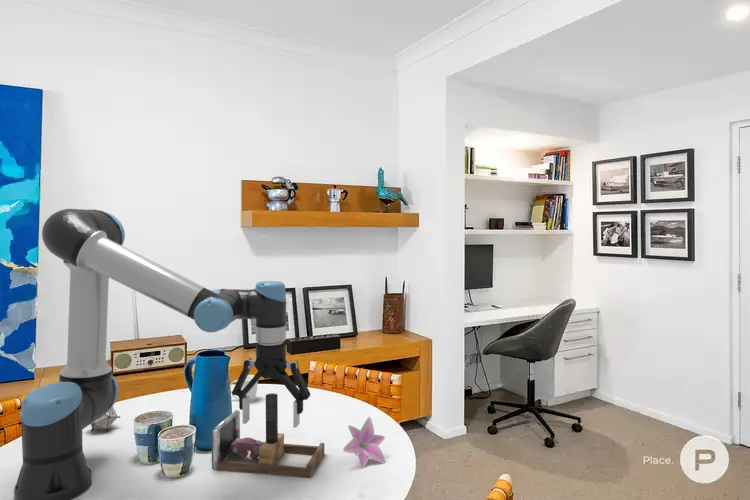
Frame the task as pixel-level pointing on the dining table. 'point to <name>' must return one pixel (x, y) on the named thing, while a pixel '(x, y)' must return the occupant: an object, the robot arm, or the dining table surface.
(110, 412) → the game die
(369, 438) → the lily
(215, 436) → the grey tablet
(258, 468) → the brown flat rectangular frame
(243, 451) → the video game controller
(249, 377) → the cup
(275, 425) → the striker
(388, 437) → the dining table surface
